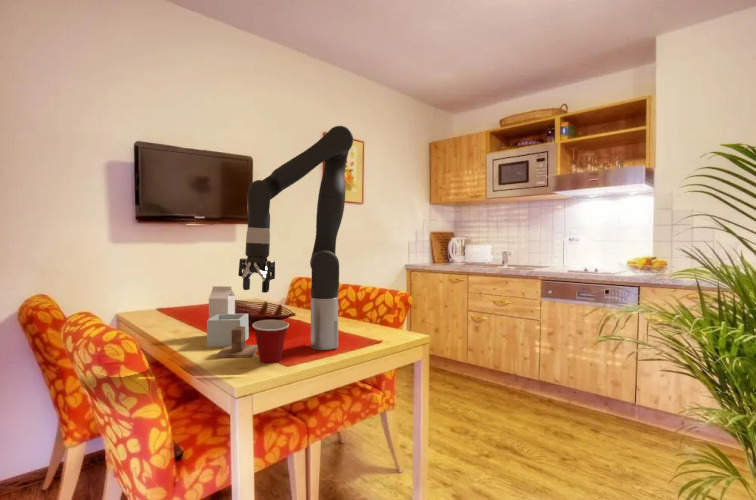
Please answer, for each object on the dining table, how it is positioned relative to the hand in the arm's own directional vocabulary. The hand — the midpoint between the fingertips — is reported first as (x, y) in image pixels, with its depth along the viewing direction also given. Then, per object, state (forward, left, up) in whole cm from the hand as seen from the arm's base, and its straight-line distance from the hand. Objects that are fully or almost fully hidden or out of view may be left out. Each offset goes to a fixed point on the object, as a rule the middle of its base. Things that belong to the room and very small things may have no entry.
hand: (255, 291), depth 130 cm
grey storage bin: (+12, -10, -20) cm, 25 cm away
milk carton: (+17, -20, -20) cm, 33 cm away
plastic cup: (-7, +12, -20) cm, 25 cm away
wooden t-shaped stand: (+5, +3, -19) cm, 20 cm away
